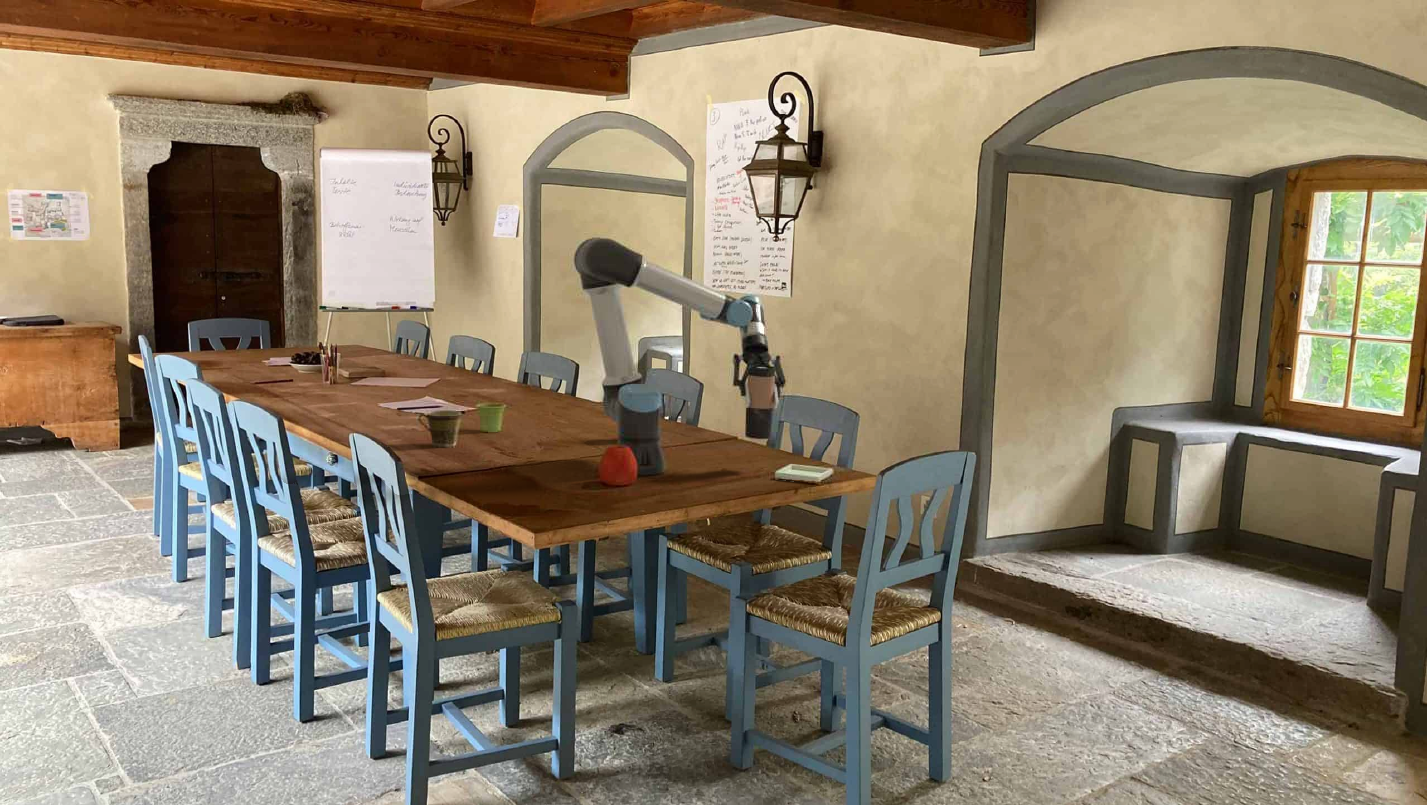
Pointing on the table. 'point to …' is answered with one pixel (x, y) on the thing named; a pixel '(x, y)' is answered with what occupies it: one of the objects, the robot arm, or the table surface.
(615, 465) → the apple
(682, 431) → the table surface
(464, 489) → the table surface
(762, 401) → the travel mug
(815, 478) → the holder tray
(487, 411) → the plant pot
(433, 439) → the ceramic cup
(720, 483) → the table surface
